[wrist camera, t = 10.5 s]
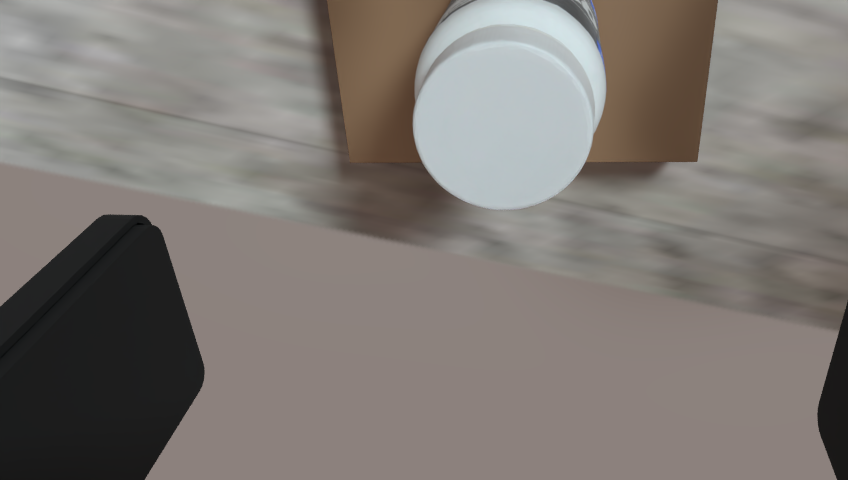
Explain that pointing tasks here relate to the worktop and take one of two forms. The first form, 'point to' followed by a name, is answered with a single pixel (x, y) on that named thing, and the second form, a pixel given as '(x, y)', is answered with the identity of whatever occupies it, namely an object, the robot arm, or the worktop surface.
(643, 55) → the walnut block
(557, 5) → the pill bottle
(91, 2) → the worktop surface
